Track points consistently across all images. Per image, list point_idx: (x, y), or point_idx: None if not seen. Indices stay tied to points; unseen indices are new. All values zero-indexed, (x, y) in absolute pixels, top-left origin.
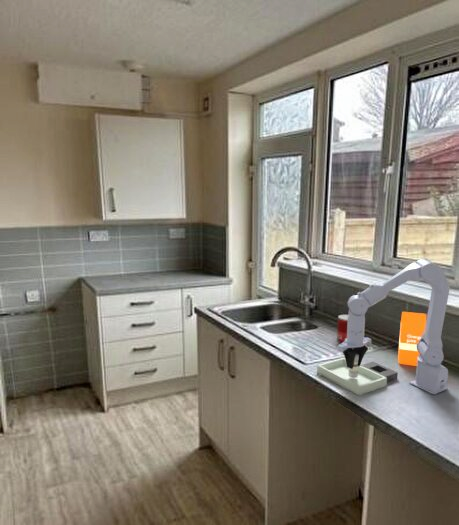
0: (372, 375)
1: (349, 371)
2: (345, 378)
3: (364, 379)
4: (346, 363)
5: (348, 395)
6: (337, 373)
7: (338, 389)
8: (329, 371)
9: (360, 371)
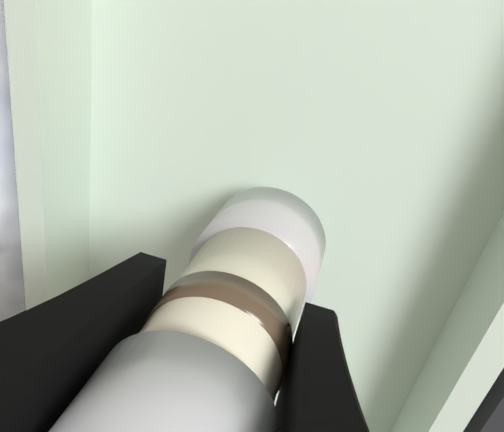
0: (427, 393)
1: (195, 243)
2: (210, 160)
3: (345, 315)
4: (100, 274)
5: (18, 296)
6: (255, 2)
7: (15, 198)
8: (7, 7)
9: (501, 232)
